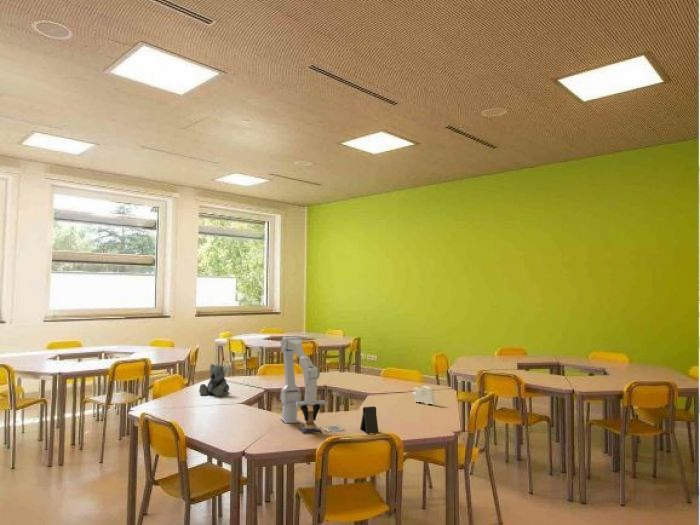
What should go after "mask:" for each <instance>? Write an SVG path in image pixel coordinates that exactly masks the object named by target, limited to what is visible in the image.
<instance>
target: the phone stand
mask: <svg viewBox="0 0 700 525" xmlns="http://www.w3.org/2000/svg"><path fill="white" fill-rule="evenodd" d="M361 416H362V418H361V422H360V427H359V430H360V431H361V430H362V431H361V432H363V431H364V432H365V434H366V433H367V434H366V435H370V434H369V433H377V434H379V433H380V432H379V425H378V416H377V408H376V406H364V407H363V408H362V414H361ZM364 432H363V433H364Z"/></svg>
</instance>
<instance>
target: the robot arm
mask: <svg viewBox="0 0 700 525" xmlns="http://www.w3.org/2000/svg"><path fill="white" fill-rule="evenodd" d="M280 351H281V353H282V354H283V366H284V367H283V368H284V369H283V370H284V380H285V385H284V386H282V388H281V389H280V396H279V397H280V398H279V399H280V402H281V403H282V407H281V409H282V410H281V417H280V418H281V419H283V421H284V422H285V423H284V422H283V421H282V422H283V423H284V424H294V423H295V424H296V423H300V420H298V407H300V408H301V411H302V413H303V416H304V421H305V422H306V421H307V419H308V418H307V414H308V411H309V407H308V406H312V411H314V421H316V419H317V416H318V413H319V411H320V409H321V406H322V405H323V406H326V400H325V399H321V400H320V399H319V400H317V393H318V392H317V391H318V379H319V378H320V369H319V368H318V367H317V366H315V365H314V364H313V362H312V361H311V358H310V357H309V356H306V353H305V351H304V348H303V340H302V337H301V336H299V335H298V336H283V337H282V338H281V340H280ZM294 354H295V355H296V356H297V358H298V359H299V361H298V363H299V366H300V367H301V370H302V371H303V373H302V374H303V375H302V376H303V382H304V384H305V385H304V400H302V394H301V390H300V387H299V386H298V385H296V379H295V378H296V377H295V366H294V365H295V364H294ZM281 419H280V420H281Z"/></svg>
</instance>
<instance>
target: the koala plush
mask: <svg viewBox="0 0 700 525" xmlns="http://www.w3.org/2000/svg"><path fill="white" fill-rule="evenodd" d="M208 366H209V367H208V368H209V374H210V375H209V376H210V377H209V378H210V380H209V381H208V383H207V385H206V384H205V383H202V384H200V386H199V389H198V390H199V391H198V393H199V394H200V395H201V396H208V395H209V396H210V395H214V396H215V397H217V398H219V397H223V396H227V394H228V393H229V391H230V386H229V384H228V383H227V379H226V378H225V377H226V376H227V375H228V374H230V370H231V369H230V366H229V365H227V364H226V365H220V364H214V363H209V365H208Z"/></svg>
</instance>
